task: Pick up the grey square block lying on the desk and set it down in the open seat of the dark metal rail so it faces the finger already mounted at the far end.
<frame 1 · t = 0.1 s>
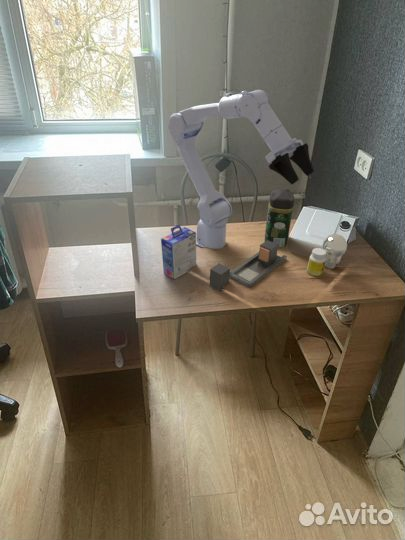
hand: (303, 177, 99), 32 cm above the table, tool tilted 50°, fingers open, 7 cm apart
ink cartridge box: (179, 270, 121), on the table
rail: (257, 270, 121), on the table
supplement bottle: (313, 275, 120), on the table
light bulb: (328, 269, 123), on the table
coffee jar: (275, 242, 135), on the table
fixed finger: (266, 260, 124), resting on rail
grey square block: (219, 285, 114), on the table
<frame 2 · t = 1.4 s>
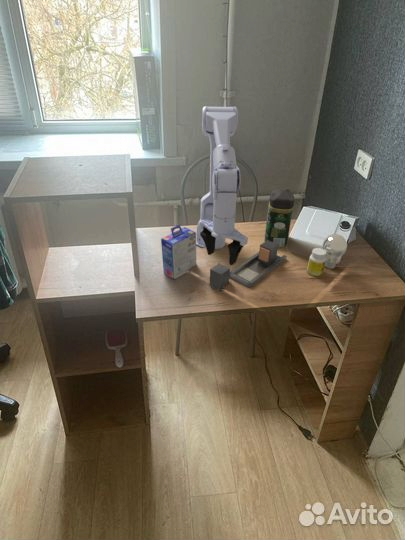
hand: (221, 258, 109), 10 cm above the table, tool pointing down, fingers open, 7 cm apart
nothing on the table moved.
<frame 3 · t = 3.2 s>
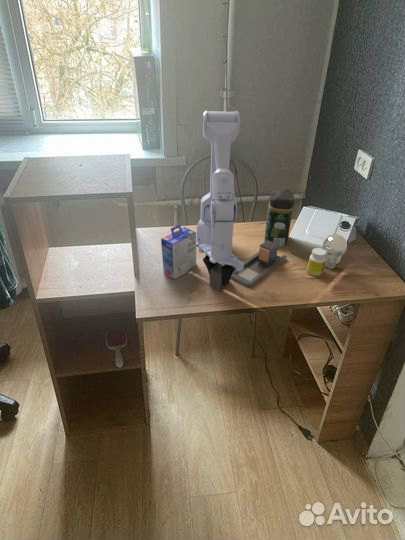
hand: (219, 280, 114), 2 cm above the table, tool pointing down, fingers closed on grey square block, 4 cm apart
grey square block: (219, 285, 114), on the table, touching gripper
everything else where it was.
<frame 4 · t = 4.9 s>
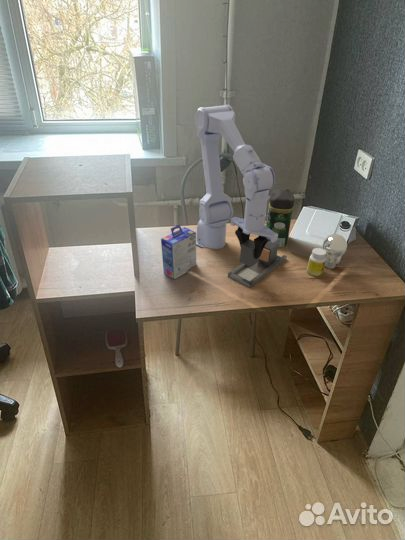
hand: (250, 254, 113), 8 cm above the table, tool pointing down, fingers closed on grey square block, 4 cm apart
grey square block: (249, 261, 114), point 6 cm above the table, touching gripper
everything else where it was.
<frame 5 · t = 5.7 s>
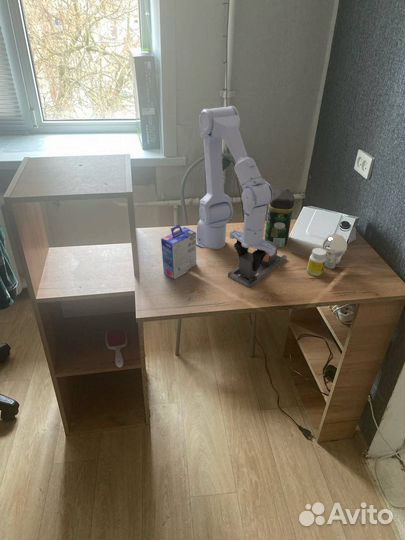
hand: (249, 266, 116), 4 cm above the table, tool pointing down, fingers closed on grey square block, 4 cm apart
grey square block: (247, 273, 117), point 2 cm above the table, touching gripper
everything else where it was.
when the fingers open (4 cm above the table, at t = 6.4 s): grey square block stays where it is, resting on rail.
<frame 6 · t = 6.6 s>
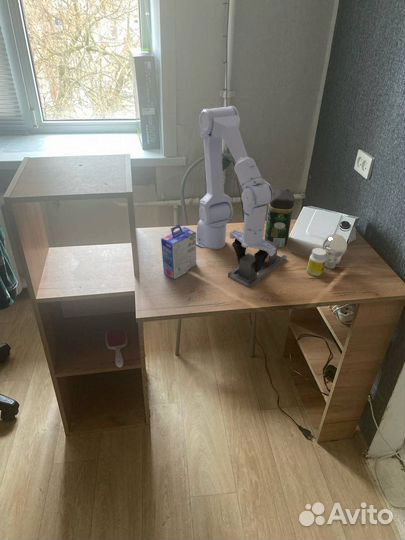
hand: (249, 266, 116), 4 cm above the table, tool pointing down, fingers open, 5 cm apart
grey square block: (247, 275, 117), point 1 cm above the table, touching rail
everything else where it was.
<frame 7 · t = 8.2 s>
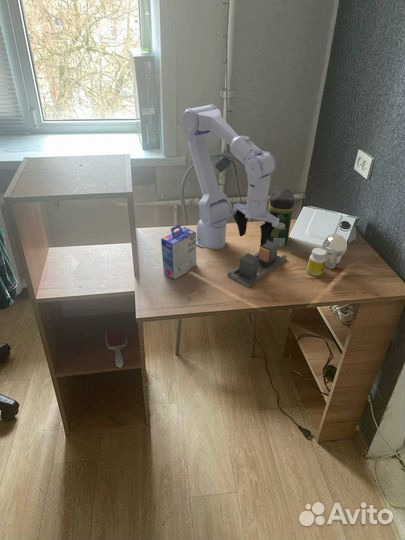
hand: (252, 239, 117), 10 cm above the table, tool pointing down, fingers open, 7 cm apart
nothing on the table moved.
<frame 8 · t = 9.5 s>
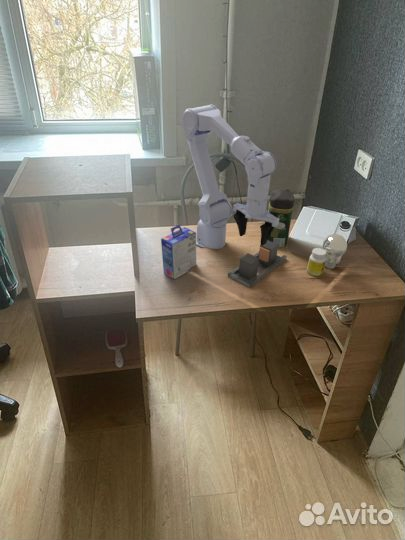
hand: (252, 239, 117), 10 cm above the table, tool pointing down, fingers open, 7 cm apart
nothing on the table moved.
at the end: grey square block 0.4 cm from the target spot on the rail, point 1.1 cm above the rail's base; grey square block tilted 0° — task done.
